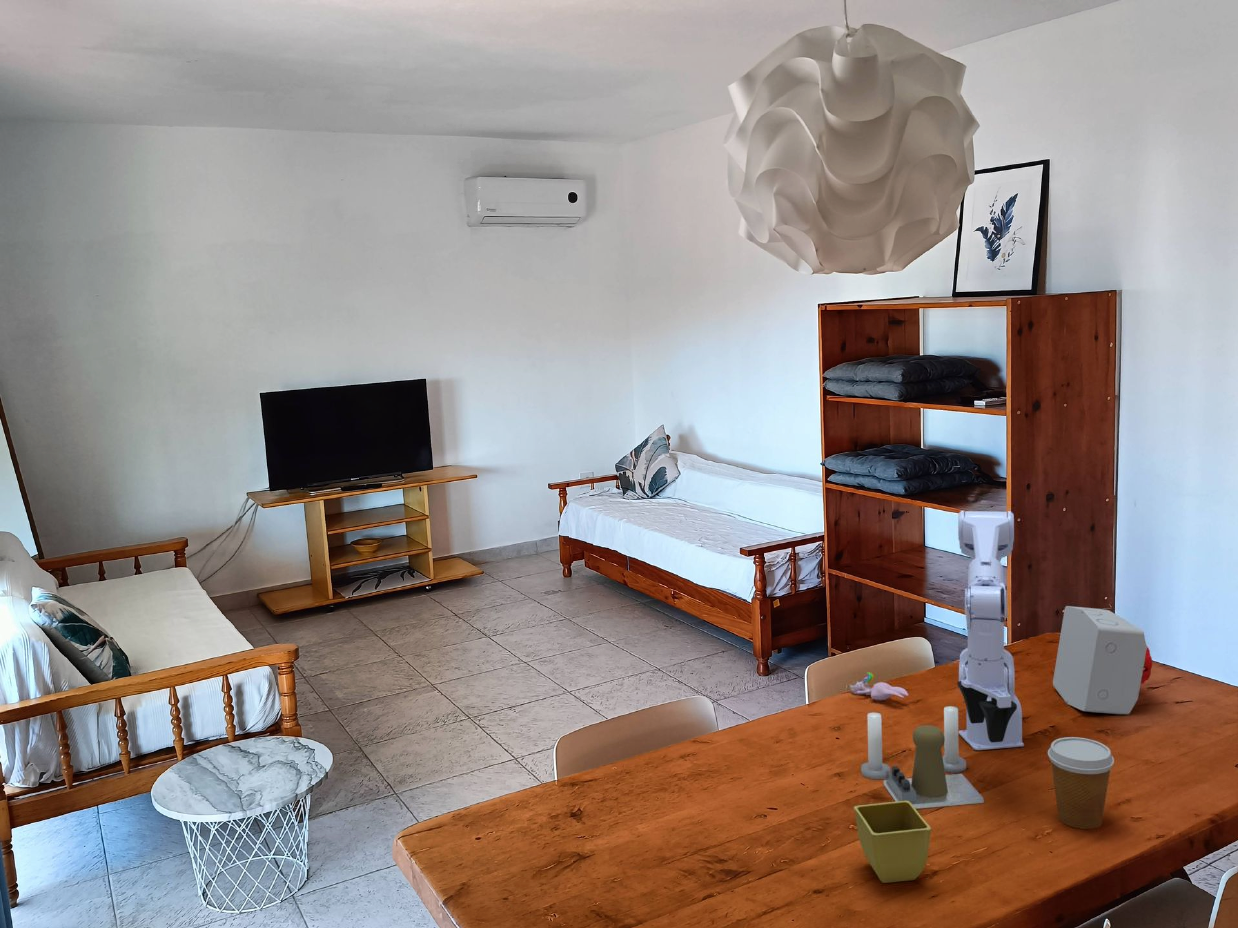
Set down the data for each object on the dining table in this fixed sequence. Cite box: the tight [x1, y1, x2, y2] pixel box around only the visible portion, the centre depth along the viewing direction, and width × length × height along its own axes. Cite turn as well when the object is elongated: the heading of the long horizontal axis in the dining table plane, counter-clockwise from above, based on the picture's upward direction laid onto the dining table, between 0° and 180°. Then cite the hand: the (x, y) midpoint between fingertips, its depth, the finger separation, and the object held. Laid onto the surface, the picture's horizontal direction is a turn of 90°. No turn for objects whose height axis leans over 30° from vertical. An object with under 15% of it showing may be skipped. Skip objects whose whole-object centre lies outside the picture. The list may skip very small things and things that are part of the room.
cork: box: [911, 724, 948, 797], centre depth 166 cm, size 6×6×11 cm
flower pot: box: [853, 801, 932, 884], centre depth 144 cm, size 9×9×9 cm
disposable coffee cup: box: [1047, 736, 1115, 830], centre depth 155 cm, size 10×10×12 cm
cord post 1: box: [860, 712, 891, 781], centre depth 174 cm, size 5×5×11 cm
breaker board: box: [883, 765, 984, 810], centre depth 166 cm, size 14×9×4 cm, turn 93°
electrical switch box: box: [1052, 605, 1153, 715], centre depth 198 cm, size 15×15×20 cm
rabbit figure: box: [845, 671, 909, 702], centre depth 208 cm, size 6×6×15 cm
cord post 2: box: [942, 705, 967, 774], centre depth 175 cm, size 5×5×11 cm
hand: (986, 731), depth 166 cm, fingers open, 7 cm apart
